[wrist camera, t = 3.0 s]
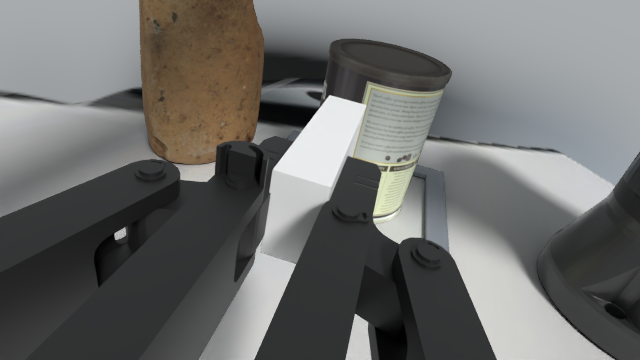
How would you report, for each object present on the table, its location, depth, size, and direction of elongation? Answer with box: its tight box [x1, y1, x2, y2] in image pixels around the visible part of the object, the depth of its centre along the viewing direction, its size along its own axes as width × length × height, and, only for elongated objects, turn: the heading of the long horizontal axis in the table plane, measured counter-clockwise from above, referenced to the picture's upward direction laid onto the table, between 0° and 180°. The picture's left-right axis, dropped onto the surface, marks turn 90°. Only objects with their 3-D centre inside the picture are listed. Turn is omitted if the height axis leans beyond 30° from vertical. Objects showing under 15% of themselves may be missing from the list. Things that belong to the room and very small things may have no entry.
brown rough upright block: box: [139, 0, 264, 164], centre depth 36 cm, size 11×8×20 cm
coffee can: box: [320, 39, 452, 224], centre depth 35 cm, size 10×10×14 cm
